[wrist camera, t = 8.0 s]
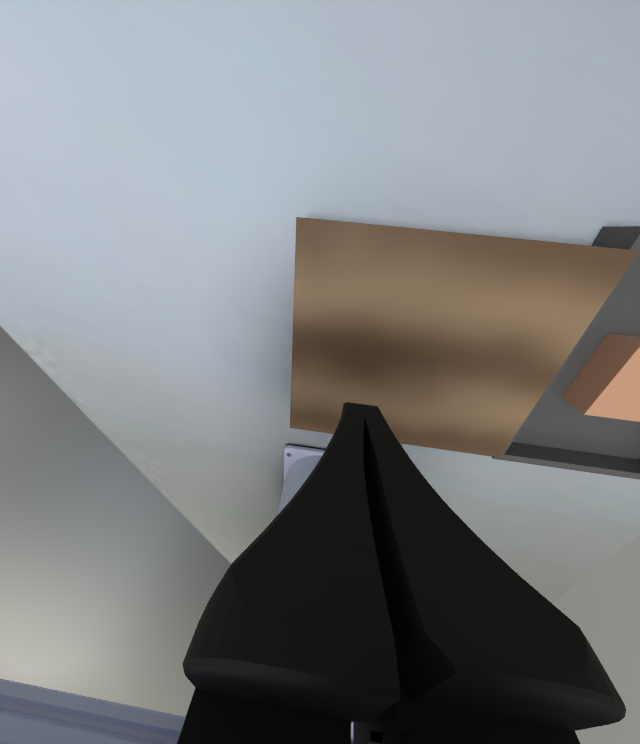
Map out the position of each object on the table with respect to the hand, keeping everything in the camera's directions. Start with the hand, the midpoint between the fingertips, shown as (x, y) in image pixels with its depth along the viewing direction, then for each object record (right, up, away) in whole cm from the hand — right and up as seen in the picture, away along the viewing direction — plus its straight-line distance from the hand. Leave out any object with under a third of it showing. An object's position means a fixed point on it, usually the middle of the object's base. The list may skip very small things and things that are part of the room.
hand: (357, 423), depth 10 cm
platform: (+5, +4, +8) cm, 10 cm away
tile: (+19, +1, +5) cm, 19 cm away
